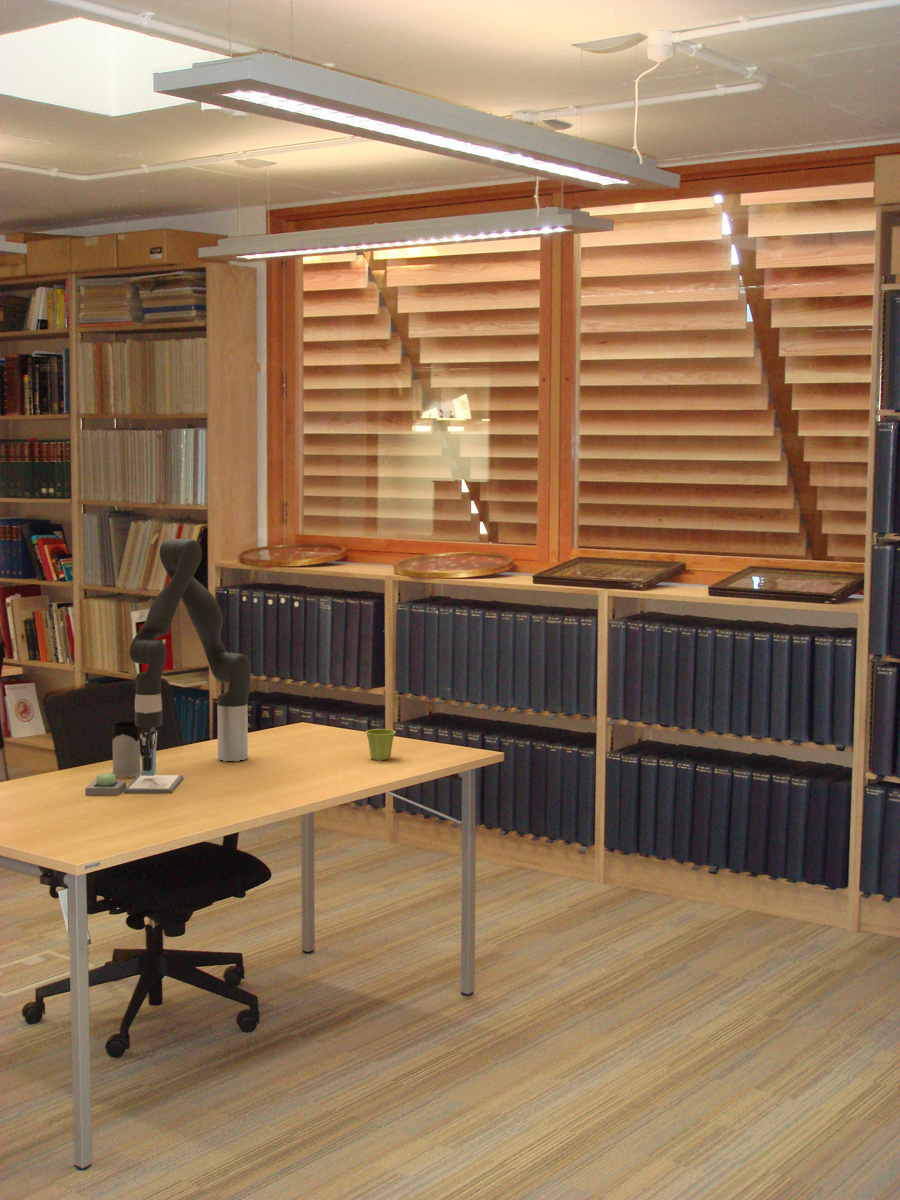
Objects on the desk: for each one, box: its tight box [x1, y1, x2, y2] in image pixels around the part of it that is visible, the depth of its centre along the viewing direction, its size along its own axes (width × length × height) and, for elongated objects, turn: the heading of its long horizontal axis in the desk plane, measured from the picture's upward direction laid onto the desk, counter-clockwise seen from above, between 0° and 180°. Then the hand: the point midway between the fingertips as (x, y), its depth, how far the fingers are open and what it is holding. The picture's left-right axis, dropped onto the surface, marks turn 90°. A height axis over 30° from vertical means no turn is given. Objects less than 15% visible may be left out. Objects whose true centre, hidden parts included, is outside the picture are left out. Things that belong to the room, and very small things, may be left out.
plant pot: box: [365, 728, 396, 761], centre depth 402 cm, size 9×9×9 cm
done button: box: [95, 773, 116, 786], centre depth 356 cm, size 5×5×2 cm
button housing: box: [84, 780, 127, 796], centre depth 356 cm, size 9×9×2 cm
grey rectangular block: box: [141, 743, 157, 776], centre depth 366 cm, size 4×4×9 cm
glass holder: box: [111, 721, 142, 779], centre depth 380 cm, size 9×14×15 cm, turn 1°
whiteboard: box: [123, 774, 184, 794], centre depth 364 cm, size 18×13×1 cm
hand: (148, 768), depth 366 cm, fingers closed on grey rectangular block, 3 cm apart
